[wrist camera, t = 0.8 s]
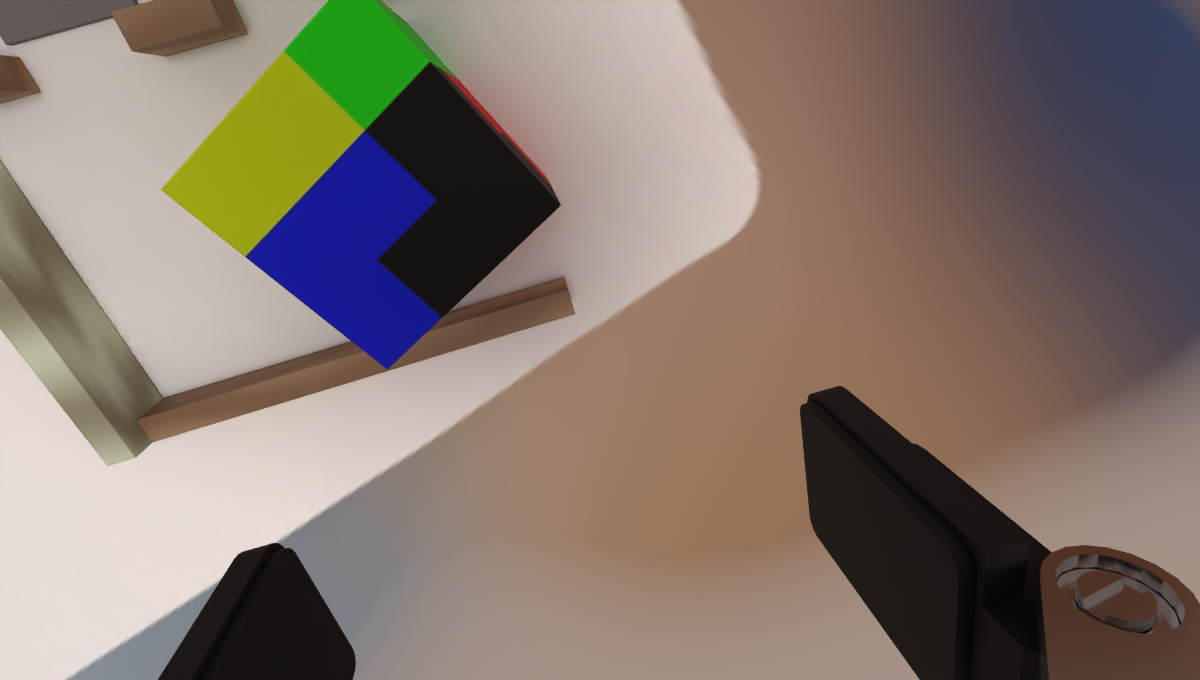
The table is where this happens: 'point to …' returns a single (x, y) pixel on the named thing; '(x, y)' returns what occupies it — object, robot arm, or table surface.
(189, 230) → the table surface
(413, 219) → the puzzle toy
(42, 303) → the trap box
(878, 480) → the robot arm
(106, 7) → the grey flat block
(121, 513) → the table surface
